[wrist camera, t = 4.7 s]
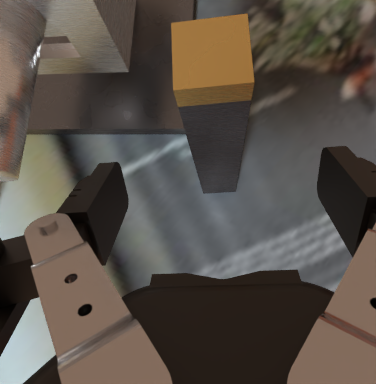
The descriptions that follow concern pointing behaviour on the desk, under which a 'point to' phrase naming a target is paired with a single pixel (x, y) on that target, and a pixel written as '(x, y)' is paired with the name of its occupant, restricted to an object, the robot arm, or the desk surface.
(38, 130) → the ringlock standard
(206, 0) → the desk surface
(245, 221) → the desk surface
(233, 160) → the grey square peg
